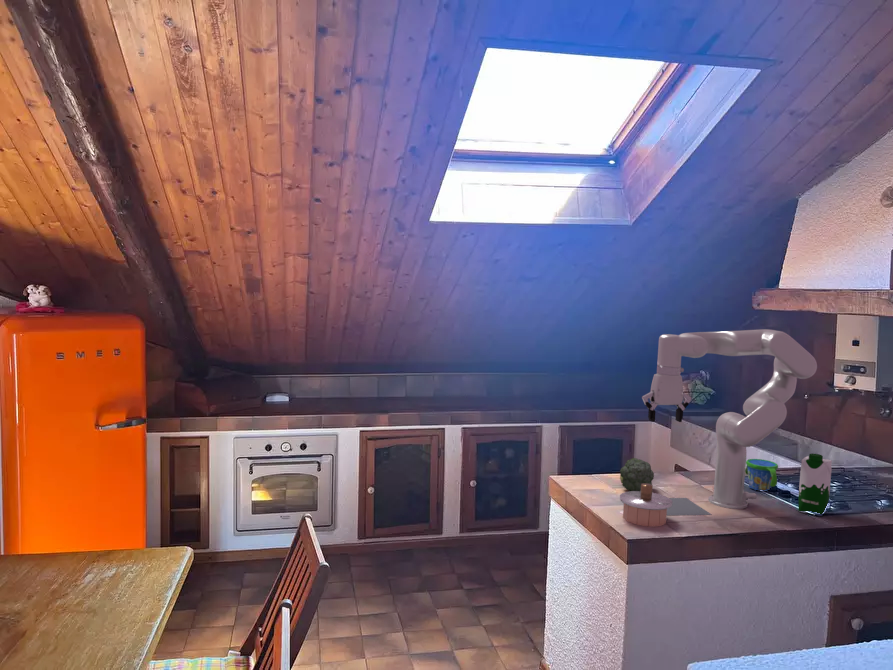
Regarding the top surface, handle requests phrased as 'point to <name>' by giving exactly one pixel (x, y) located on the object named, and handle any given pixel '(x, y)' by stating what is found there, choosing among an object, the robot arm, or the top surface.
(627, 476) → the vegetable
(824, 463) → the milk carton
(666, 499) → the lid
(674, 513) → the mat
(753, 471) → the snack cup
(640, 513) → the bowl
